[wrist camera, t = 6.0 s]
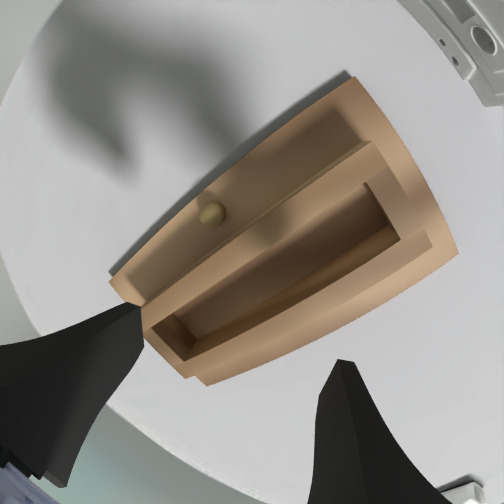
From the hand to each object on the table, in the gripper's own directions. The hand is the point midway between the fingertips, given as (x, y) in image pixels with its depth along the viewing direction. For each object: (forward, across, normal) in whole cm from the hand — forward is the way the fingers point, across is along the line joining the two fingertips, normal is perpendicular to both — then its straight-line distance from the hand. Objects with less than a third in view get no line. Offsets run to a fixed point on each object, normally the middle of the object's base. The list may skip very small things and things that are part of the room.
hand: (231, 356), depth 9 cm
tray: (+7, 0, 0) cm, 7 cm away
